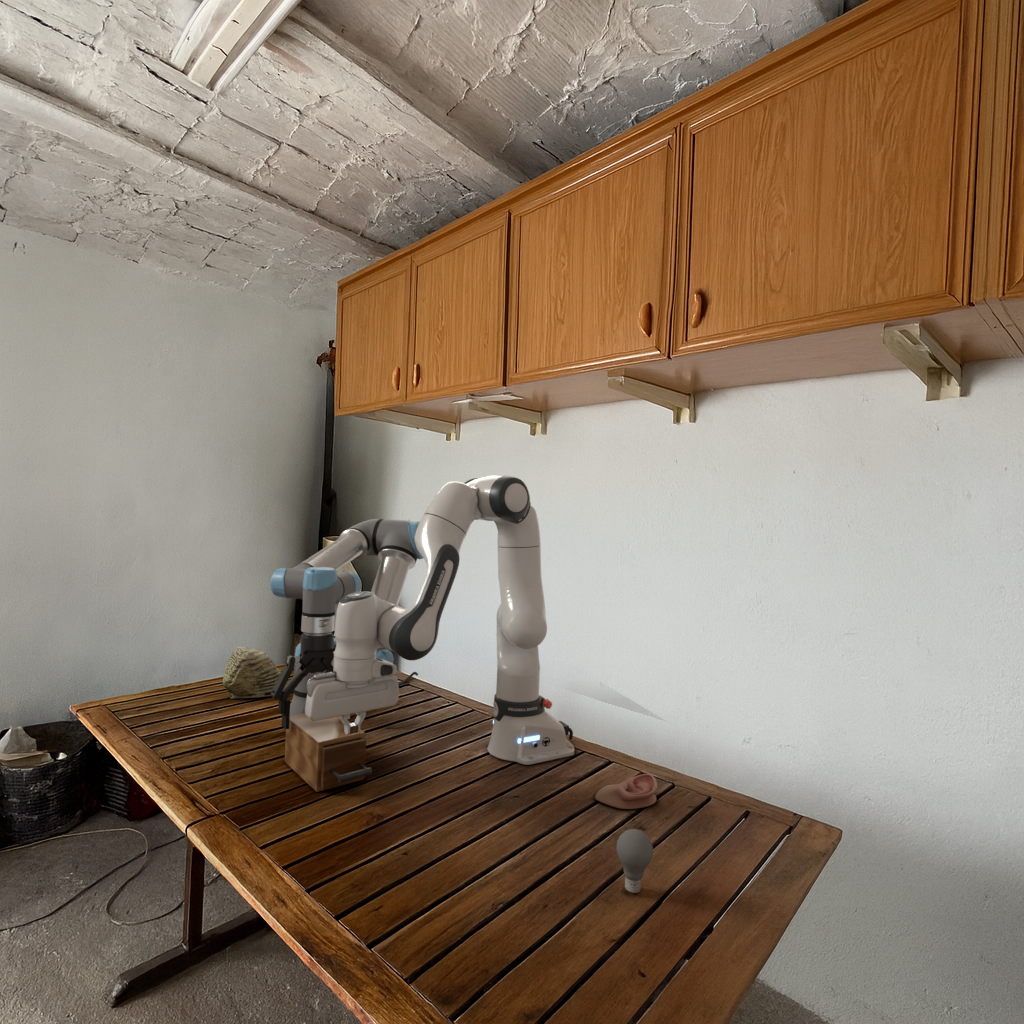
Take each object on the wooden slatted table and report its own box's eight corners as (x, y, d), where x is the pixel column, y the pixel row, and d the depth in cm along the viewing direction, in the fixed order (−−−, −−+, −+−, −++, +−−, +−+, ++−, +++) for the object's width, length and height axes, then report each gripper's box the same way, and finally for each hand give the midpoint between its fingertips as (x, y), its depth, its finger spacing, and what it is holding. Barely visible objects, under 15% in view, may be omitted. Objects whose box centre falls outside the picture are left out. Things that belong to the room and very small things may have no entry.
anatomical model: (594, 786, 135) (598, 765, 146) (593, 805, 135) (597, 782, 146) (658, 795, 132) (657, 772, 143) (657, 814, 132) (656, 790, 143)
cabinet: (363, 779, 143) (365, 732, 142) (316, 792, 136) (318, 742, 135) (328, 751, 157) (330, 708, 157) (284, 761, 150) (286, 716, 150)
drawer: (376, 788, 137) (378, 748, 136) (334, 800, 130) (335, 758, 130) (331, 752, 154) (333, 716, 154) (292, 761, 148) (293, 724, 148)
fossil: (218, 695, 195) (220, 647, 195) (278, 685, 208) (279, 640, 207) (228, 703, 189) (230, 653, 188) (289, 692, 201) (290, 645, 201)
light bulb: (610, 879, 108) (613, 822, 108) (644, 879, 109) (647, 822, 109) (619, 902, 102) (622, 840, 102) (655, 901, 103) (658, 840, 103)
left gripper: (270, 641, 139) (265, 737, 140) (372, 630, 155) (368, 717, 156) (258, 634, 145) (254, 727, 145) (358, 625, 161) (355, 708, 161)
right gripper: (313, 679, 126) (310, 748, 126) (403, 665, 139) (401, 727, 139) (301, 671, 131) (298, 738, 131) (389, 659, 144) (386, 719, 144)
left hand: (313, 722), depth 151 cm, fingers open, 13 cm apart
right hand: (352, 732), depth 135 cm, fingers closed
